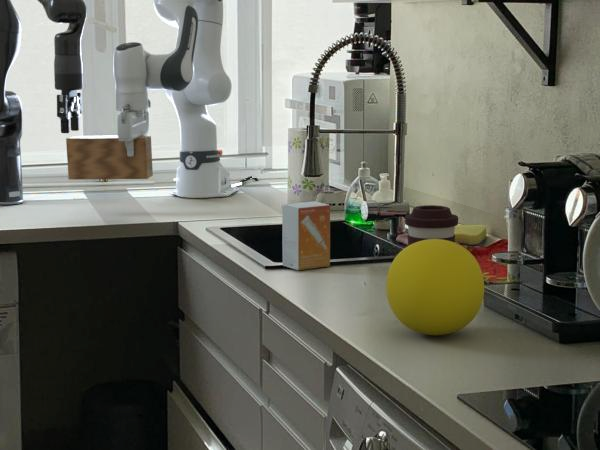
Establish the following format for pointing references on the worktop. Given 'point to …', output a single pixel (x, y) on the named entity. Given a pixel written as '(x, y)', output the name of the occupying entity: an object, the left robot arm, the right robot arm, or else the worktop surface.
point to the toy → (435, 287)
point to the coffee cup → (431, 223)
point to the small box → (306, 235)
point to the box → (108, 158)
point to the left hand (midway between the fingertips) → (70, 131)
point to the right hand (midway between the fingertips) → (134, 154)
